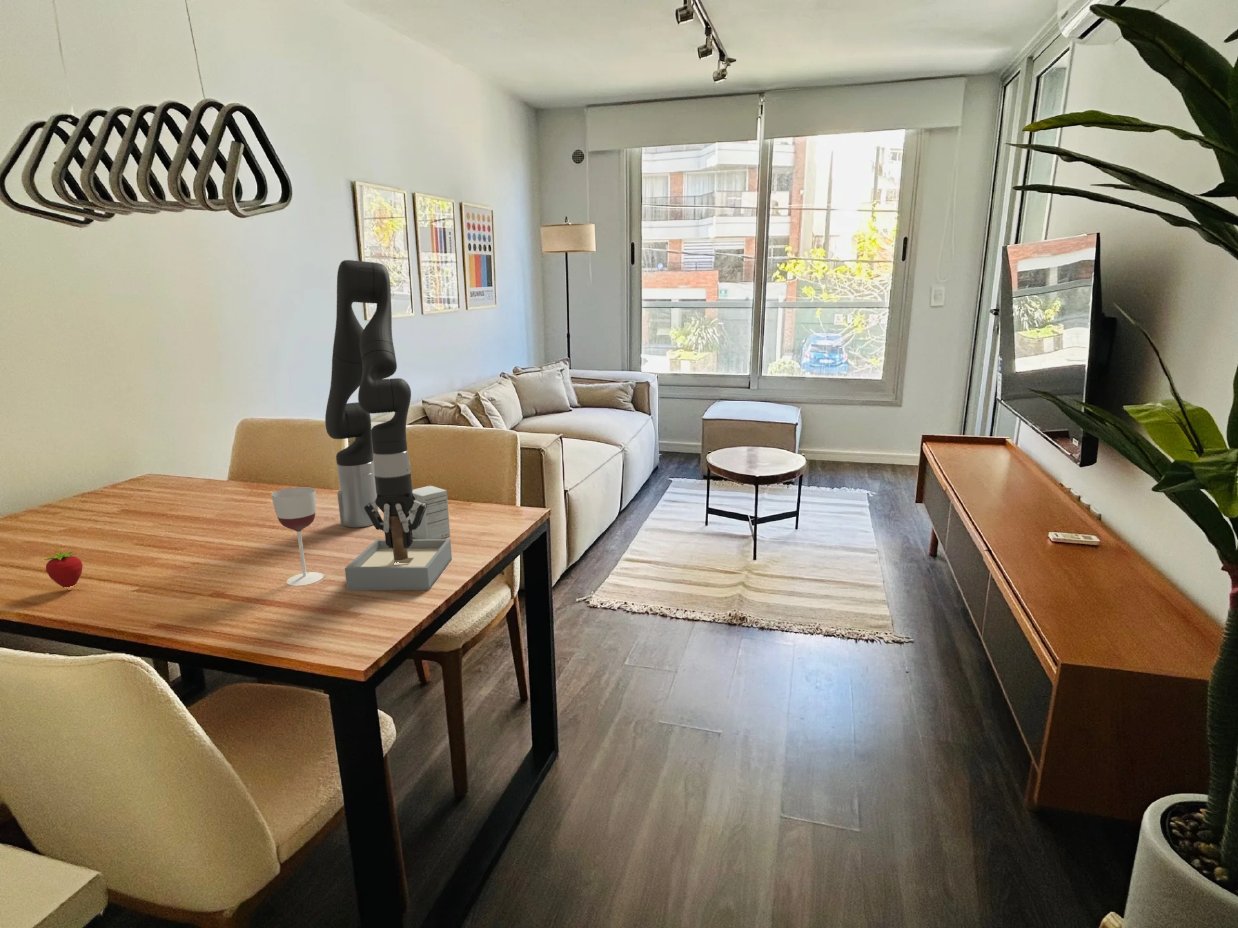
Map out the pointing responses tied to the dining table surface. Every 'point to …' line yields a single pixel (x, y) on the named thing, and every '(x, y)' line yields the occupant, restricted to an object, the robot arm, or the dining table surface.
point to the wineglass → (297, 522)
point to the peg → (398, 539)
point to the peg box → (399, 566)
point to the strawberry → (64, 569)
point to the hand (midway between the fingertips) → (400, 546)
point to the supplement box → (432, 513)
